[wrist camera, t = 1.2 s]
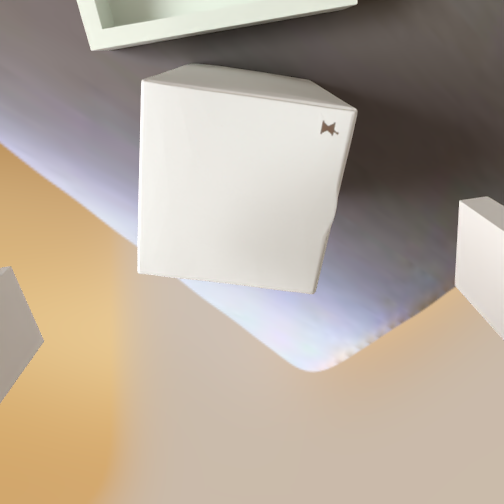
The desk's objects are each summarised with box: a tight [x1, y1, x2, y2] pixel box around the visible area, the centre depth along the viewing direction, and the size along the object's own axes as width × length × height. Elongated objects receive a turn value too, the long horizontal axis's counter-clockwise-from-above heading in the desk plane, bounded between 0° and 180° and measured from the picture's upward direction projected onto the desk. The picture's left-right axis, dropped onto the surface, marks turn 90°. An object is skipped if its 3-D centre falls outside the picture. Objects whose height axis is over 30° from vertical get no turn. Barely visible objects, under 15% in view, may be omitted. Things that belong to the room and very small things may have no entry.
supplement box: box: [138, 63, 357, 294], centre depth 25 cm, size 9×9×15 cm
